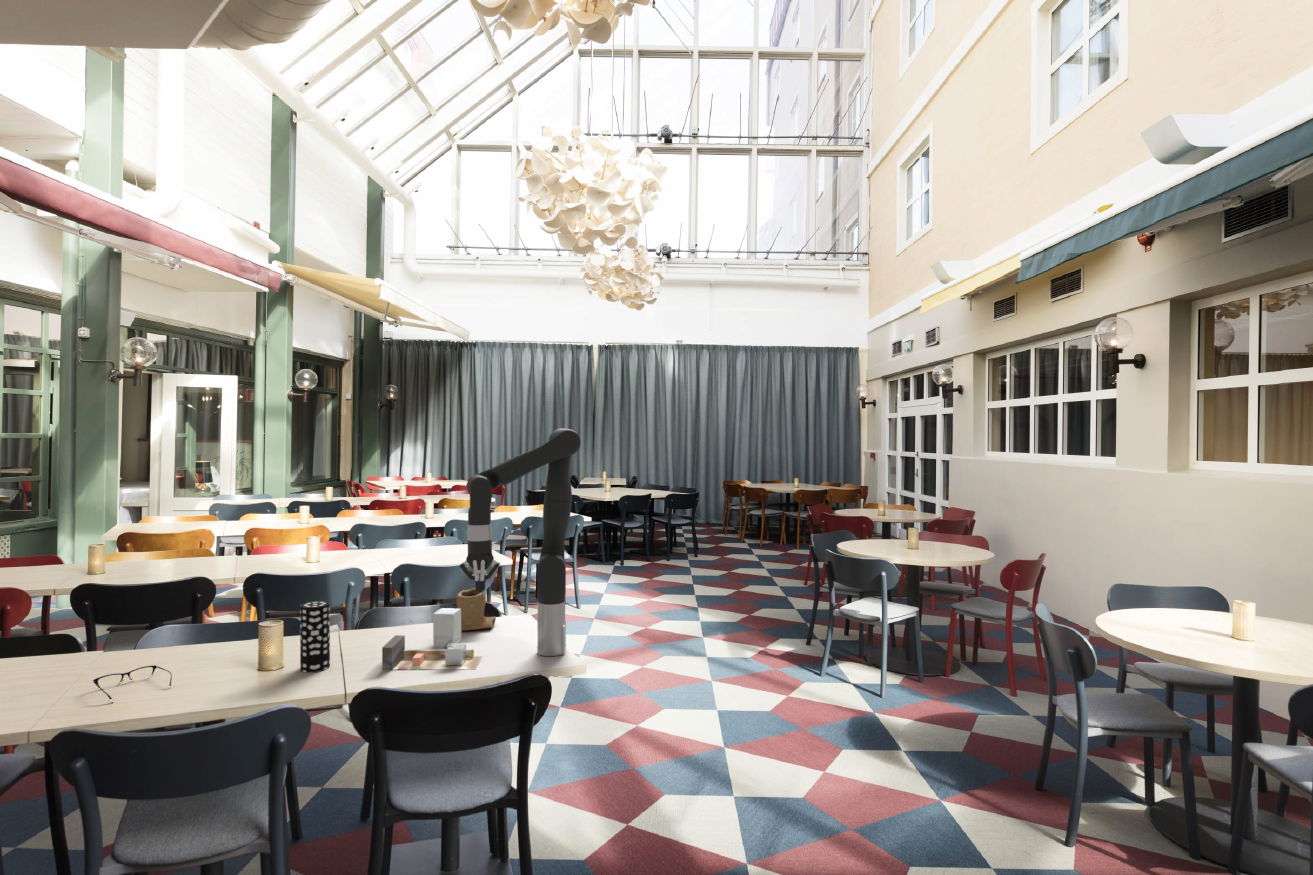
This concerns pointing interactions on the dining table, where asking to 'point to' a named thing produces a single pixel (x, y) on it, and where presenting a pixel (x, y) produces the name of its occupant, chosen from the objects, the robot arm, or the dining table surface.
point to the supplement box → (446, 626)
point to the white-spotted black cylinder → (314, 636)
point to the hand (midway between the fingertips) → (480, 592)
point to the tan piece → (473, 610)
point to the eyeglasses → (128, 676)
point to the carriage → (455, 653)
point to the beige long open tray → (433, 659)
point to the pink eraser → (417, 659)
